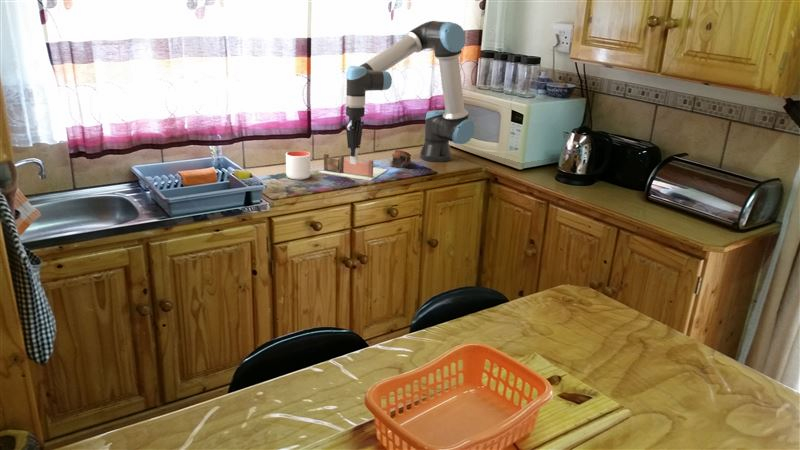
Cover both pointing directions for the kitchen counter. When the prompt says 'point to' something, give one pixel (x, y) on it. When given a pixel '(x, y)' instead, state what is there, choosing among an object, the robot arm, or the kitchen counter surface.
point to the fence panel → (359, 168)
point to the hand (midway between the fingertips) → (353, 163)
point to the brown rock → (400, 159)
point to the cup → (298, 165)
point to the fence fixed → (333, 163)
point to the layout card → (364, 177)
